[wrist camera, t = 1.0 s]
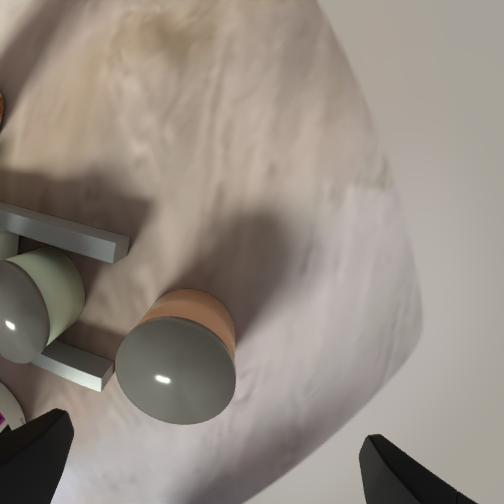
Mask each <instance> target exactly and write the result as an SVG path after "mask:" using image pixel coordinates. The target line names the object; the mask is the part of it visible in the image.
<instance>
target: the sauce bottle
mask: <svg viewBox="0 0 504 504" xmlns="http://www.w3.org/2000/svg"><path fill="white" fill-rule="evenodd" d="M3 112H4V100H3V96H2V94H1V92H0V124H1V120H2V117H3Z"/></svg>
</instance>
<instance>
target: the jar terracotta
mask: <svg viewBox="0 0 504 504" xmlns="http://www.w3.org/2000/svg"><path fill="white" fill-rule="evenodd" d="M235 335H236V332H235V325H234V321H233V319H232V316H231V314H230V313H229V311H228V310H227V308H226V307H225V306H224V305H223V304H222V303H221V302H220V301H219V300H218V299H216V298H215V297H213V296H212V295H210V294H208V293H206V292H203V291H200V290H195V289H178V290H174V291H171V292H168V293H166V294H164V295H163V296H161V297H160V298H159V299H158V300H157V301H156V302H155V303H154V304H153V305H152V307H151V308H150V309H149V311H148V312H147V313H146V314H145V316H144V317H143V318H142V320H141V321H140V322H139V324H138V325H137V326H136V327H134V328H133V329H132V330H131V331H130V332H129V334H128V335H127V336H126V338H125V339H124V340H123V342H122V343H121V345H120V347H119V348H118V351H117V354H116V360H115V370H116V376H117V379H118V382H119V384H120V387H121V389H122V390H123V392H124V394H125V395H126V396H127V398H128V399H129V400H130V401H131V402H132V403H133V404H134V405H135V406H136V407H137V408H139V409H140V410H141V411H143V412H144V413H146V414H147V415H149V416H151V417H153V418H155V419H158V420H161V421H164V422H167V423H172V424H180V425H189V424H197V423H201V422H204V421H207V420H210V419H212V418H214V417H215V416H217V415H218V414H220V413H221V412H222V411H223V410H224V409H225V408H226V407H227V406H228V404H229V403H230V401H231V399H232V397H233V395H234V391H235V384H236V368H235V363H234V358H235Z"/></svg>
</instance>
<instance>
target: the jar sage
mask: <svg viewBox="0 0 504 504" xmlns="http://www.w3.org/2000/svg"><path fill="white" fill-rule="evenodd" d="M84 302H85V291H84V285H83V282H82V278H81V276H80V274H79V272H78V270H77V268H76V266H75V265H74V263H73V262H72V261H71V260H70V259H69V258H68V257H67V256H66V255H65V254H63V253H62V252H60V251H59V250H56V249H54V248H49V247H44V248H39V249H36V250H33V251H30V252H27V253H23V254H20V255H17V256H14V257H11V258H8V259H6V260H0V355H1V356H2V357H4V358H5V359H7V360H9V361H11V362H14V363H20V364H23V363H28V362H30V361H32V360H34V359H35V358H36V357H37V356H38V355H39V354H40V353H42V352H43V350H44V349H45V347H46V346H47V345H48V344H49V343H51V342H52V341H53V340H54V339H55V338H57V337H58V336H59V335H60V334H61V333H62V332H64V331H65V330H66V329H67V328H68V327H70V326H71V325H72V324H73V323H74V322H76V321H77V319H78V318H79V317H80V315H81V313H82V311H83V307H84Z"/></svg>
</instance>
